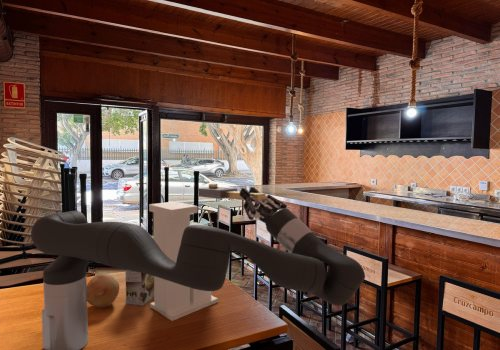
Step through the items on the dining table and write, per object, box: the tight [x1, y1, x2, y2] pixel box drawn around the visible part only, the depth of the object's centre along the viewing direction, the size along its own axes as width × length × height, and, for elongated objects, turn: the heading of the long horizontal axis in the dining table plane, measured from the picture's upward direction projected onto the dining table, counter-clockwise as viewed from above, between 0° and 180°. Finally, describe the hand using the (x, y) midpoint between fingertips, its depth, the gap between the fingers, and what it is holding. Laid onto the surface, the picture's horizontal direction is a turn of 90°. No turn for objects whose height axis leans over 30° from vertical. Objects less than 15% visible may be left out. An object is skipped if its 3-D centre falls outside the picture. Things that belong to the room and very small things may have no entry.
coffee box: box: [125, 270, 154, 307], centre depth 110 cm, size 9×6×16 cm
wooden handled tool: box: [197, 183, 267, 201], centre depth 96 cm, size 6×22×4 cm, turn 46°
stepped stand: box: [148, 200, 219, 322], centre depth 106 cm, size 17×12×32 cm
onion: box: [86, 273, 120, 308], centre depth 105 cm, size 10×10×10 cm
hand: (246, 190), depth 92 cm, fingers closed on wooden handled tool, 3 cm apart
